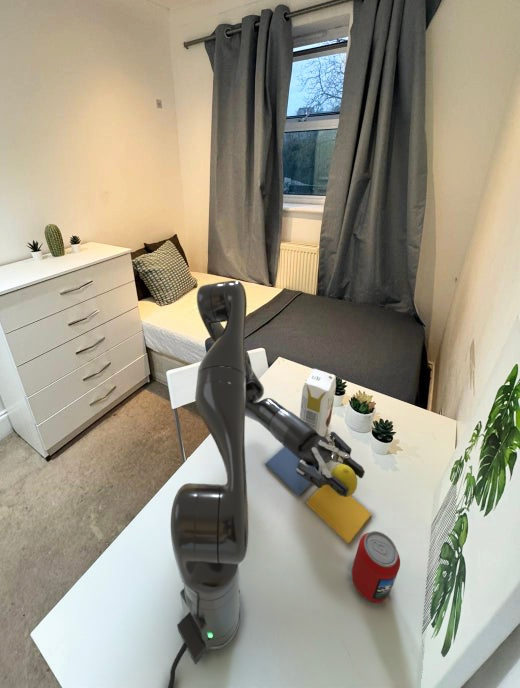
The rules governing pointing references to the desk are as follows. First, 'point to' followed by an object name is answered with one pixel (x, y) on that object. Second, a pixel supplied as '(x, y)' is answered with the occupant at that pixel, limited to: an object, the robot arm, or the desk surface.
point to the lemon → (345, 477)
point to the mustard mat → (339, 512)
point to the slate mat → (289, 470)
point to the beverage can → (375, 566)
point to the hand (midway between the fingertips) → (355, 483)
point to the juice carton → (318, 400)
